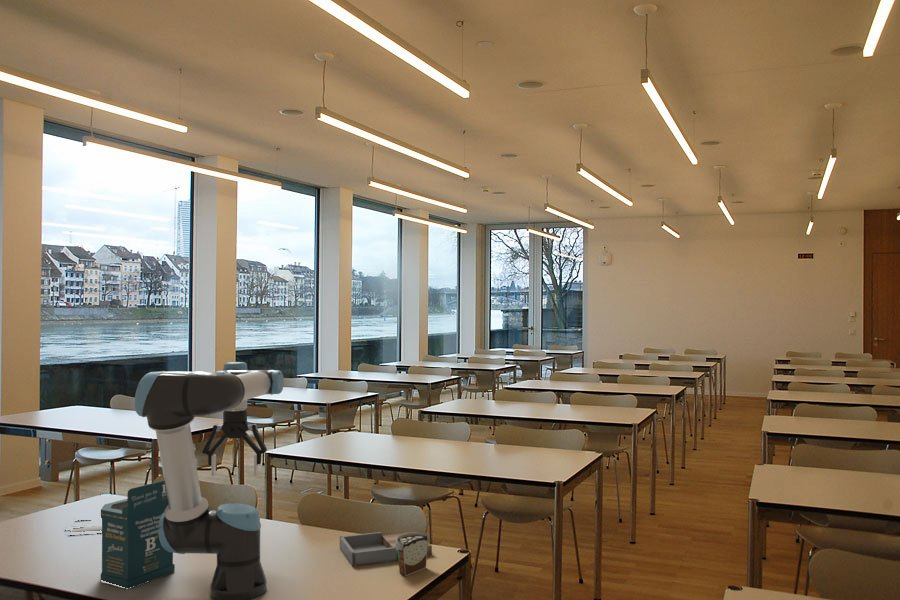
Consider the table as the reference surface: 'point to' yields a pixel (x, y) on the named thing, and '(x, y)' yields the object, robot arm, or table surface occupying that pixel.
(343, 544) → the tray
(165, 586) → the table surface
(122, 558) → the donation box
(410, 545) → the food container
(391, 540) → the tan wooden flat block
